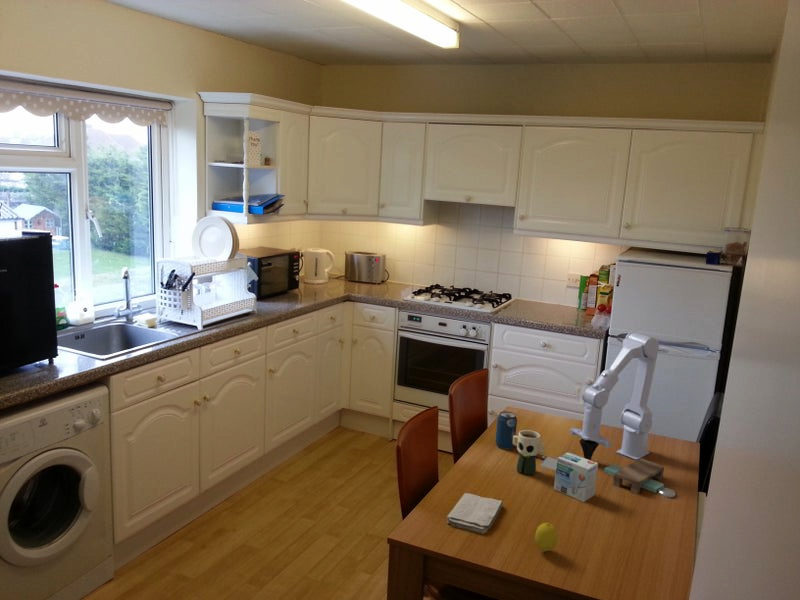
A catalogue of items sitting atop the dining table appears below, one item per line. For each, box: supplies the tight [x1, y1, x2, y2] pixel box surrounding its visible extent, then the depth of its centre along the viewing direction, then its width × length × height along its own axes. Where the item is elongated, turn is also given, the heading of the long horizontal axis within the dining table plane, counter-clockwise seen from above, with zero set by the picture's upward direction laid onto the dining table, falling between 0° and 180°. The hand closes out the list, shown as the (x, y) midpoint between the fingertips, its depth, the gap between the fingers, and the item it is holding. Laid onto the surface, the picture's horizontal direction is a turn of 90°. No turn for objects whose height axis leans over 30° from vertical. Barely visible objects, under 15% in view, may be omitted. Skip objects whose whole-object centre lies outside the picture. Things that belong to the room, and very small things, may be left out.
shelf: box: [612, 457, 665, 495], centre depth 212 cm, size 18×8×4 cm, turn 134°
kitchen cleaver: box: [535, 453, 558, 471], centre depth 222 cm, size 24×1×10 cm
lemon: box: [534, 522, 558, 553], centre depth 169 cm, size 6×6×8 cm
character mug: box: [513, 429, 546, 475], centre depth 214 cm, size 11×7×13 cm, turn 59°
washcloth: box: [446, 492, 503, 535], centre depth 186 cm, size 12×18×3 cm, turn 158°
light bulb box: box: [553, 452, 599, 503], centre depth 202 cm, size 11×7×11 cm, turn 47°
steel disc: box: [657, 487, 676, 499], centre depth 205 cm, size 5×5×1 cm
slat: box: [603, 463, 665, 494], centre depth 214 cm, size 6×18×2 cm, turn 42°
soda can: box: [495, 410, 518, 450], centre depth 234 cm, size 7×7×12 cm
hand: (587, 460), depth 224 cm, fingers closed
